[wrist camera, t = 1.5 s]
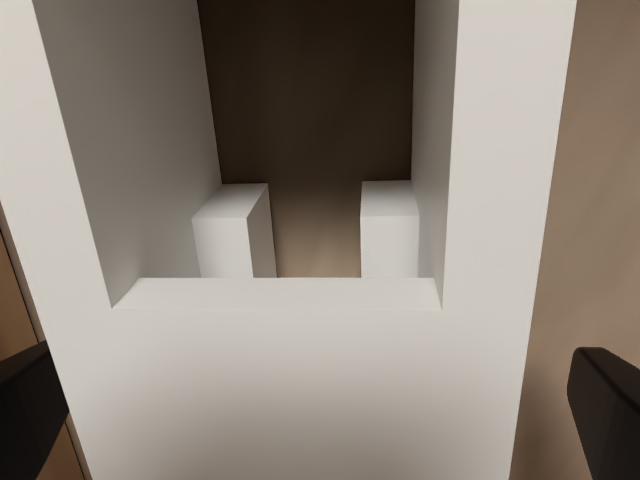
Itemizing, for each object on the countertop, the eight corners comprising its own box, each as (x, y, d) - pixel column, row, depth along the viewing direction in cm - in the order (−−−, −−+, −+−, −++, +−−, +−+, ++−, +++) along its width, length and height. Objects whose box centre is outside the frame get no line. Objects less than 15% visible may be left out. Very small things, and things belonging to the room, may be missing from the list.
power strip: (110, -195, 8) (-218, -459, 4) (488, -236, 8) (664, -617, 3) (239, 539, 15) (184, 757, 11) (436, 550, 15) (464, 786, 10)
